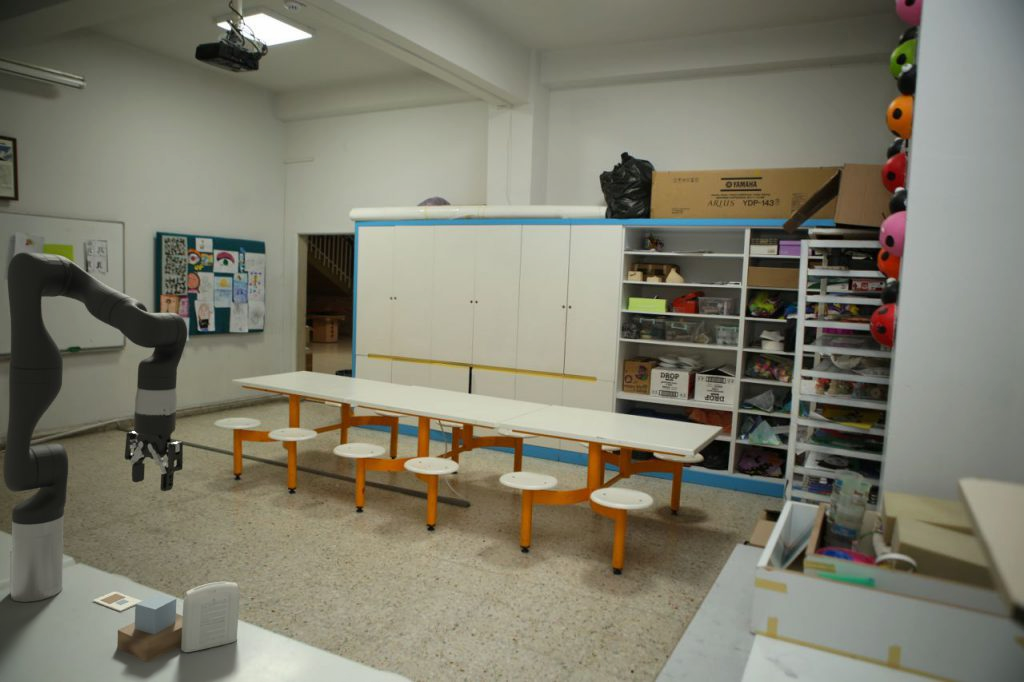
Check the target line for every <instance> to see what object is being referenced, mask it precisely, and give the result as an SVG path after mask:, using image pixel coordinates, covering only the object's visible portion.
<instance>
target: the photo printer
mask: <svg viewBox="0 0 1024 682" xmlns="http://www.w3.org/2000/svg"><path fill="white" fill-rule="evenodd" d="M182 603H183V604H182V616H183V620H182V640H181V645H180V646H181V647H180V649H181V651H182V652H184V653H189V652H190V653H191V652H196V651H201V650H205V649H210V648H215V647H218V646H223V645H228V644H231V643H234V642H236V641H237V638H238V625H239V607H240V606H239V605H240V590H239V586H238V584H237V582H234V581H215V582H209V583H205V584H201V585H199V586H195V587H193V588H191V589H189V590H187V591H186V592H185V594H184V599H183V602H182Z"/></svg>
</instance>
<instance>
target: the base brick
mask: <svg viewBox="0 0 1024 682" xmlns="http://www.w3.org/2000/svg"><path fill="white" fill-rule="evenodd" d="M182 620H183V614H179V613H177V612H176V623H175V624H173V625H171V626H169V627H167V628H166V629H164V630H162V631H160V632H158V633H157V634H155V635H154V634H150V633H147V632H144V631H140V630H137V629H135V622H132V623H130V624H128V625H126V626H124V627H121V628H118V629H117V642H116V645H117V647H116V648H117V649H119V650H121V651H123V652H125V653H127V654H130V655H132V656H134V657H135V658H138V659H140V660H142V661H144V662H147V663H149V662H150V661H152V660H154V659H157V658H158V657H160V656H162V655H164V654H166V653H168V652H170V651H172V650H174V649H176V648H178V647H180V646H181V640H182Z"/></svg>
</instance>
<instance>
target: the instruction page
mask: <svg viewBox="0 0 1024 682" xmlns="http://www.w3.org/2000/svg"><path fill="white" fill-rule="evenodd" d="M141 601H142V600H141V599H138V598H135V597H132V596H129V595H126V594H124V593H121V592H119V591H115V590H114V591H112V592H110V593H107V594H105V595H101V596H99V597H97V598H95V599H92V602H93V603H96V604H99V605H101V606H104V607H106V608H109V609H113V610H115V611H117V612H120V613H121V612H124V611H126V610H127V609H130V608H132V607H135V604H136V603H138V602H141Z"/></svg>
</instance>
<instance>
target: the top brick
mask: <svg viewBox="0 0 1024 682" xmlns="http://www.w3.org/2000/svg"><path fill="white" fill-rule="evenodd" d="M177 599H178V598H175V597H172V596H169V595H163V594H161V593H155V594H153V595H151V596H148V597H147V598H145V599H142V600H141V602H138V603H136V604H135V606H134V607H135V608H134V623H135V629H137V630H140V631H144V632H147V633H150V634H154V635H155V634H157V633H158V632H160V631H162V630H164V629H166V628H167V627H169V626H171V625H173V624H175V623H176V613H177Z"/></svg>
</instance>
